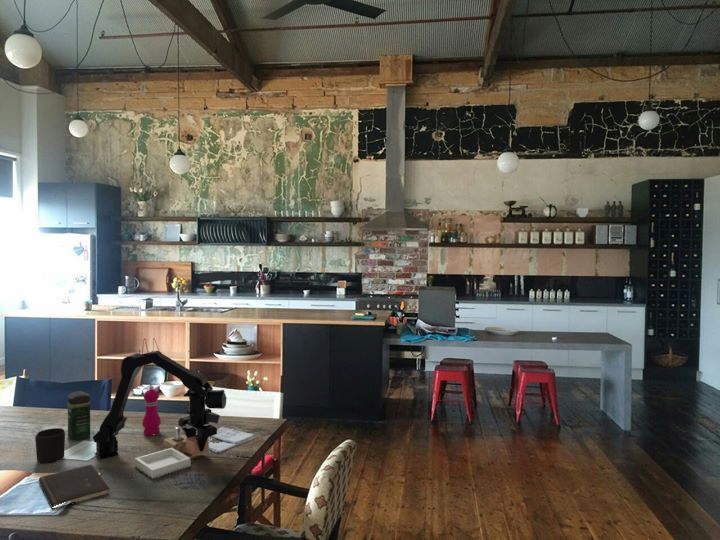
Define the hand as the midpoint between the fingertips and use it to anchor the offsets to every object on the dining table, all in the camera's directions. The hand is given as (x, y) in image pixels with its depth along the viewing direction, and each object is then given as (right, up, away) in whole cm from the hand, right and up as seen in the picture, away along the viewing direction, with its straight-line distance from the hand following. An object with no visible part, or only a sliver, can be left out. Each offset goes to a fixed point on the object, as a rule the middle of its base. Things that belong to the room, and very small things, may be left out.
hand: (197, 448), depth 194 cm
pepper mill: (-27, -2, +24) cm, 36 cm away
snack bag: (+4, -3, +17) cm, 17 cm away
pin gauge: (-9, -1, +6) cm, 11 cm away
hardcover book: (-33, -5, -25) cm, 41 cm away
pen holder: (-53, -3, -3) cm, 53 cm away
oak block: (-9, -3, +6) cm, 12 cm away
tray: (-10, -3, -9) cm, 13 cm away
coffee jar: (-54, -2, +18) cm, 57 cm away
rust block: (0, -1, 0) cm, 1 cm away
